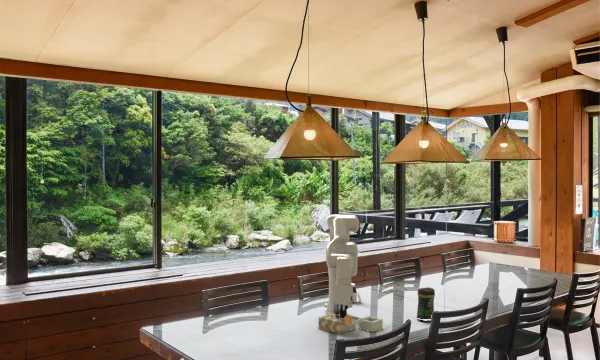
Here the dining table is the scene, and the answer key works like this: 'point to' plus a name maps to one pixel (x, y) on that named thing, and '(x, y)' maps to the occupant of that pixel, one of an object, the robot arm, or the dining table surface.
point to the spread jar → (355, 293)
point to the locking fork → (352, 320)
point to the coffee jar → (425, 303)
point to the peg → (336, 311)
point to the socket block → (333, 324)
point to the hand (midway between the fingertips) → (343, 317)
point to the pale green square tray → (371, 324)
